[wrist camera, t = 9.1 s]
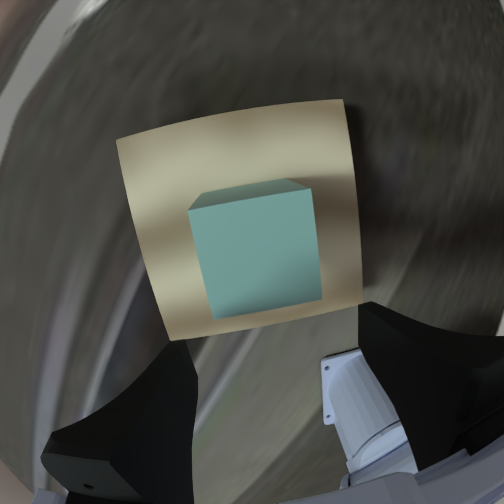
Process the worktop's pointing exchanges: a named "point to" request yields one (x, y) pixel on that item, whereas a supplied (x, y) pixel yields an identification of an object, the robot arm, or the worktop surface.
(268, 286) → the teal block
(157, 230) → the birch base board
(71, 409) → the worktop surface
